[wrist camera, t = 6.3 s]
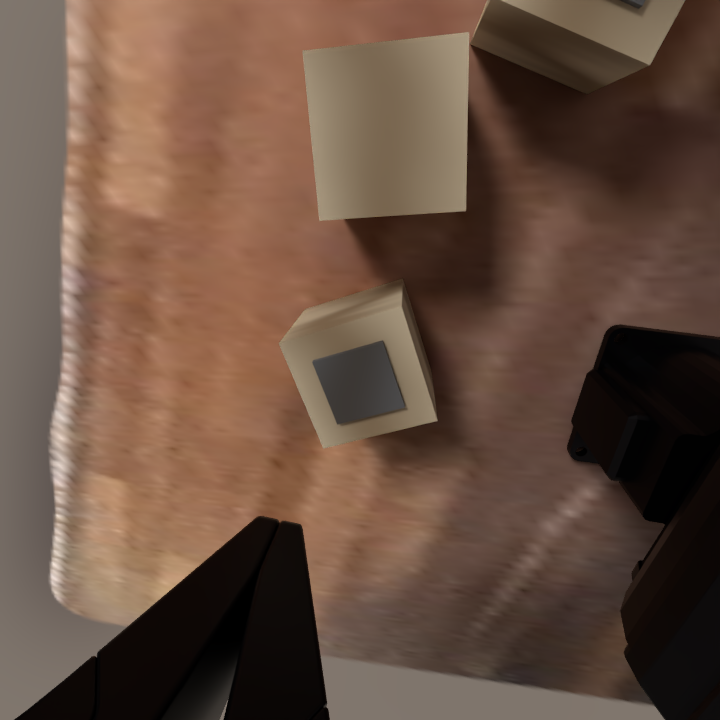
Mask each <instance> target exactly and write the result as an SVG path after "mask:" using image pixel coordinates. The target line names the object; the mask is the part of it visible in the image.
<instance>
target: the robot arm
mask: <svg viewBox="0 0 720 720" xmlns="http://www.w3.org/2000/svg"><path fill="white" fill-rule="evenodd" d="M621 333H623V338H622V339H621V340H620V341H618V342H614V340H615V337H616V336H617V335H618V334H621ZM571 422H572V424H573V425H574V427H573V430H572V433H571V436H570V439H569V442H568V445H567V450H568V452H569V454H570V456H571V457H572V458H573V459H574V460H577V461H583V462H590V463H598V464H600V466H601V467H602V469H603V470H604V472H605V473H606V475H607V476H608V478H609V479H610V480H613V481H619V483H620V484H621V486H622V487H623V488H624V490H625V491H626V493H627V494H628V496H629V497H630V499H631V500H632V502H633V503H634V504H635V506H636V507H637V509H638V510H639V512H640V513H641V515H642V516H643V517H644V519H645V520H648V521H652V522H659V523H663V524H665V526H664V528H663V530H662V531H661V533H660V534H659V536H658V538H657V539H656V541H655V542H654V544H653V545H652V547H651V549H650V550H649V552H648V553H647V555H646V556H645V558H644V560H643V561H641V560H640V561H638V563H637V564H636V566H635V567H634V569H633V571H632V580H633V582H632V583H631V585H630V586H629V588H628V589H627V591H626V593H625V597H624V600H623V603H622V607H621V610H620V612H621V617H622V622H623V627H624V632H625V637H626V640H627V643H628V645H627V647H626V648H625V650H624V655H625V658H626V660H627V662H628V664H629V666H630V667H631V669H632V671H633V673H634V675H635V677H636V679H637V681H638V682H639V684H640V686H641V687H642V689H643V690H644V692H645V693H646V694H647V696H648V697H649V698H650V700H651V701H652V703H653V704H654V705H655V707H656V708H657V709H658V711H659V712H660V714H661V715H662V716H663V718H664V719H665V720H720V337H715V336H707V335H699V334H691V333H683V332H675V331H667V330H659V329H651V328H643V327H635V326H627V325H614V326H612V327H610V328H609V329H608V330H607V331H606V333H605V335H604V338H603V341H602V344H601V347H600V350H599V353H598V356H597V359H596V362H595V365H594V368H593V369H592V370H591V371H590V372H588V373H587V375H586V378H585V381H584V384H583V387H582V390H581V393H580V396H579V399H578V402H577V405H576V408H575V411H574V414H573V417H572V420H571ZM579 447H584V448H583V450H581V451H576V450H577V448H579ZM228 698H229V699H228ZM227 700H228V703H227V707H226V712H225V716H224V720H330V718H329V711H328V708H327V707H326V706H327V699H326V692H325V685H324V677H323V671H322V663H321V656H320V649H319V642H318V635H317V628H316V621H315V614H314V606H313V599H312V592H311V585H310V578H309V571H308V564H307V557H306V550H305V543H304V535H303V529H302V526H301V525H300V524H298V523H293V522H288V521H281V522H280V523H279V521H278V520H277V519H274V518H269V517H264V516H258V517H256V518H255V519H254V520H253V521H252V522H250V523H249V524H248V525H247V526H246V527H245V528H243V529H242V530H241V531H240V532H239V533H237V534H236V535H235V536H234V537H233V538H232V539H230V540H229V541H228V542H227V543H226V544H224V545H223V546H222V547H221V548H220V549H219V550H217V551H216V552H215V553H214V554H213V555H212V556H210V557H209V558H208V559H207V560H206V561H204V562H203V563H202V564H201V565H200V566H199V567H197V568H196V569H195V570H194V571H193V572H191V573H190V574H189V575H188V576H187V577H186V578H184V579H183V580H182V581H181V582H180V583H179V584H177V585H176V586H175V587H174V588H173V589H171V590H170V591H169V592H168V593H167V594H166V595H164V596H163V597H162V598H161V599H160V600H158V601H157V602H156V603H155V604H154V605H153V606H151V607H150V608H149V609H148V610H147V611H145V612H144V613H143V614H142V615H141V616H140V617H138V618H137V619H136V620H135V621H134V622H133V623H131V624H130V625H129V626H128V627H127V628H126V629H124V630H123V631H122V632H121V633H120V634H118V635H117V636H116V637H115V638H114V639H112V640H111V641H110V642H109V643H108V644H107V645H106V646H104V647H103V648H102V649H101V650H100V651H99V652H98V653H97V657H95V656H92V657H91V658H90V659H89V660H87V661H86V662H85V663H84V664H83V665H82V666H80V667H79V668H78V669H77V670H76V671H74V672H73V673H72V674H71V675H70V676H69V677H67V678H66V679H65V680H64V681H62V682H61V683H60V684H59V685H58V686H56V687H55V688H54V689H53V690H51V691H50V692H49V693H48V694H47V695H45V696H44V697H43V698H41V699H40V700H39V701H38V702H37V703H35V704H34V705H33V706H32V707H30V708H29V709H28V710H27V711H25V712H24V713H23V714H21V715H20V716H19V717H17V718H16V719H15V720H219V719H220V717H221V714H222V712H223V710H224V707H225V705H226V702H227Z"/></svg>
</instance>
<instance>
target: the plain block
mask: <svg viewBox="0 0 720 720" xmlns="http://www.w3.org/2000/svg"><path fill="white" fill-rule="evenodd" d="M303 60H304V70H305V80H306V90H307V100H308V110H309V120H310V131H311V141H312V151H313V161H314V171H315V181H316V191H317V201H318V211H319V221H321V220H336V219H352V218H367V217H382V216H398V215H413V214H428V213H444V212H459V211H466V181H467V125H468V69H469V32H466V33H457V34H448V35H439V36H430V37H421V38H412V39H403V40H394V41H385V42H376V43H367V44H358V45H349V46H340V47H331V48H322V49H313V50H304V51H303Z"/></svg>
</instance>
